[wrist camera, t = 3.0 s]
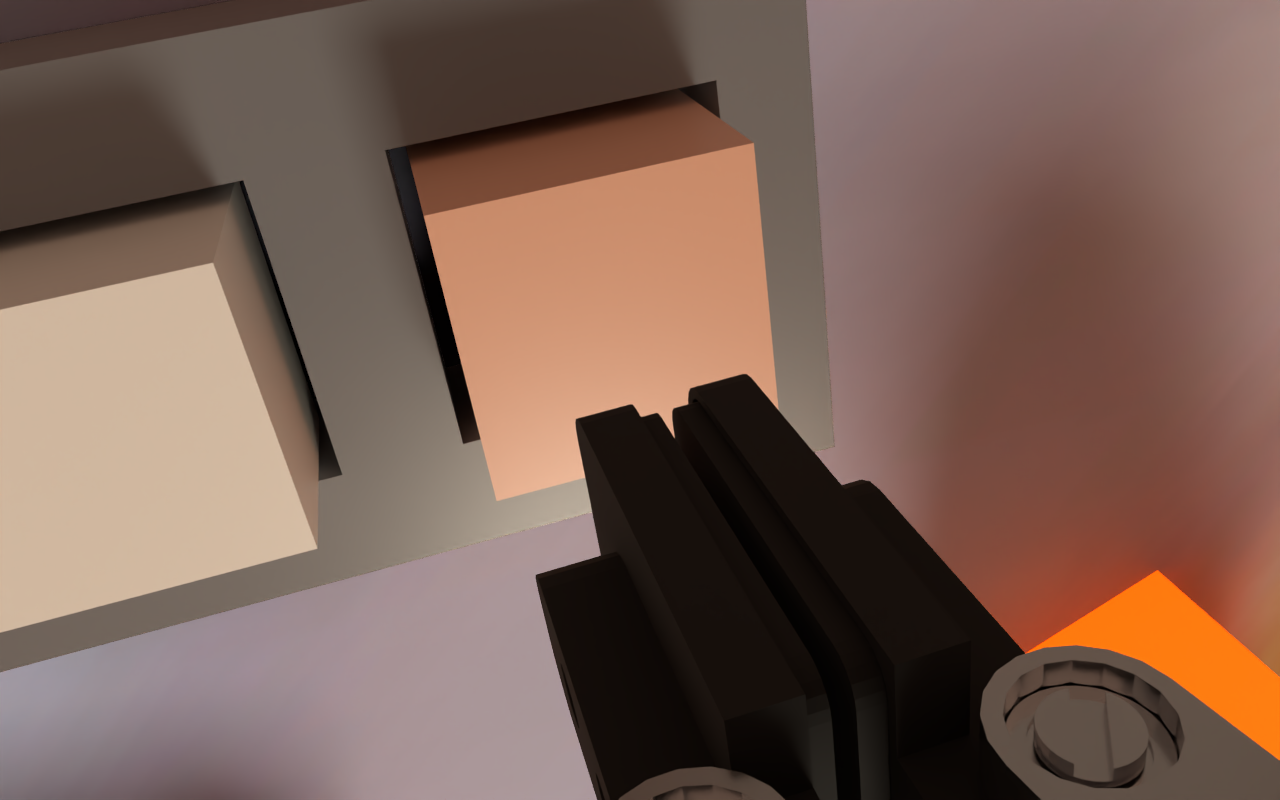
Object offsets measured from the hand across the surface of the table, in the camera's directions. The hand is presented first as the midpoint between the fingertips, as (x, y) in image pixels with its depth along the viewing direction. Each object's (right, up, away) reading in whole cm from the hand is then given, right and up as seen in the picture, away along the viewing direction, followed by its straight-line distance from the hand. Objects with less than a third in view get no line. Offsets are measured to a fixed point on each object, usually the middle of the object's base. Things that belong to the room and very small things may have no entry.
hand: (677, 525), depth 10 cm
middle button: (-8, +2, +7) cm, 11 cm away
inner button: (-2, +4, +8) cm, 9 cm away
